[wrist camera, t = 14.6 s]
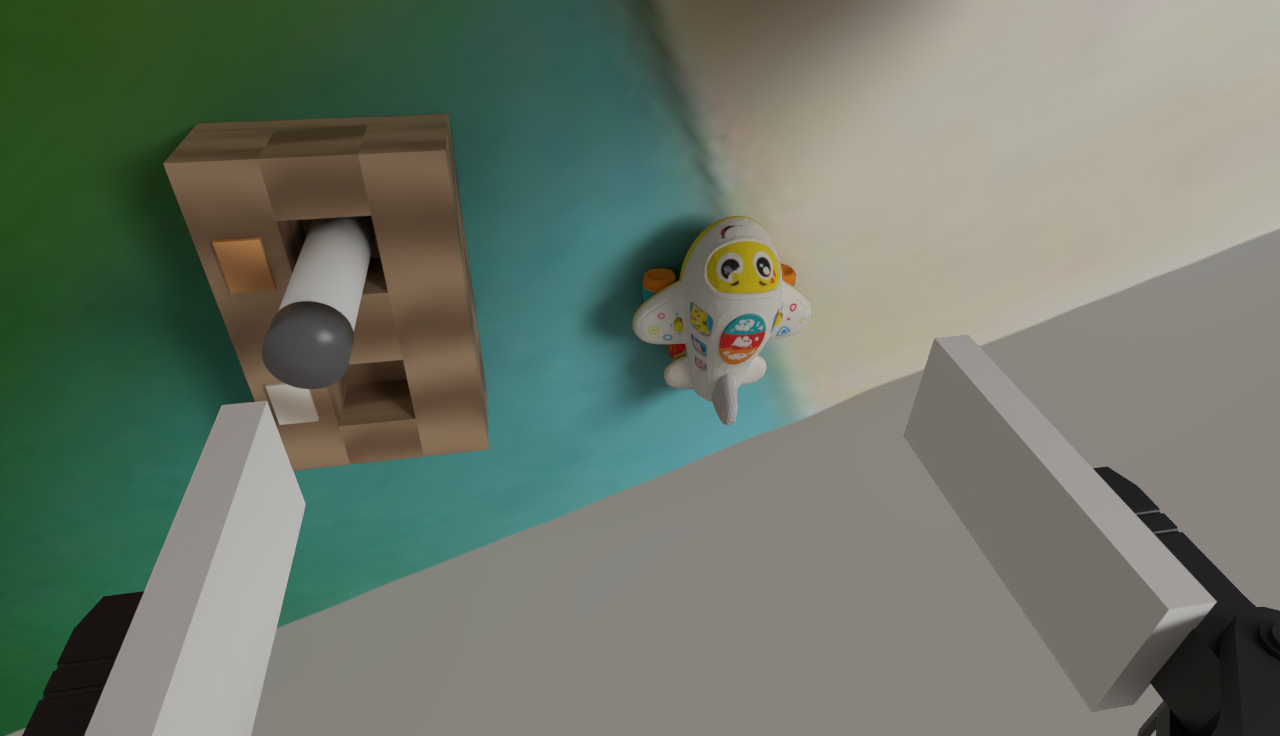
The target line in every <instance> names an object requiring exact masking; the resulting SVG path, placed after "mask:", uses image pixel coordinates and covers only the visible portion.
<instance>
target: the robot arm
mask: <svg viewBox="0 0 1280 736" xmlns="http://www.w3.org/2000/svg"><path fill="white" fill-rule="evenodd" d="M904 437H905V439H906V440H907V442H908V443H909V445H910V446H911V447H912V449H913V451H914V452H915V453H916V455H917V456H918V458H919V459H920V461H921V462H922V464H923V465H924V467H925V468H926V470H927V471H928V473H929V474H930V475H931V477H932V478H933V480H934V481H935V483H936V484H937V486H938V487H939V489H940V490H941V492H942V493H943V495H944V496H945V497H946V499H947V500H948V502H949V503H950V505H951V506H952V508H953V509H954V510H955V512H956V514H957V515H958V517H959V518H960V519H961V521H962V522H963V524H964V525H965V527H966V528H967V530H968V531H969V533H970V534H971V536H972V537H973V538H974V540H975V541H976V543H977V544H978V546H979V547H980V549H981V550H982V552H983V553H984V555H985V556H986V558H987V559H988V560H989V562H990V564H991V565H992V566H993V568H994V569H995V571H996V572H997V574H998V575H999V577H1000V578H1001V580H1002V581H1003V583H1004V584H1005V585H1006V587H1007V588H1008V590H1009V591H1010V593H1011V594H1012V596H1013V597H1014V599H1015V600H1016V602H1017V603H1018V605H1019V606H1020V608H1021V609H1022V610H1023V612H1024V613H1025V615H1026V616H1027V618H1028V619H1029V621H1030V622H1031V624H1032V625H1033V627H1034V628H1035V630H1036V631H1037V632H1038V634H1039V635H1040V637H1041V638H1042V640H1043V641H1044V643H1045V644H1046V646H1047V647H1048V649H1049V650H1050V651H1051V653H1052V654H1053V656H1054V657H1055V659H1056V660H1057V662H1058V663H1059V665H1060V666H1061V668H1062V669H1063V671H1064V672H1065V674H1066V675H1067V677H1068V678H1069V679H1070V681H1071V682H1072V684H1073V685H1074V687H1075V688H1076V690H1077V691H1078V693H1079V694H1080V696H1081V697H1082V699H1083V700H1084V701H1085V703H1086V704H1087V706H1088V707H1089V709H1090V710H1091V712H1095V711H1100V710H1106V709H1111V708H1117V707H1123V706H1128V705H1133V704H1134V703H1135V702H1136V701H1137V700H1138V699H1139V697H1140V696H1141V695H1142V693H1143V692H1144V691H1145V690H1146V689H1147V687H1148V686H1149V685H1150V684H1152V685H1153V687H1154V688H1155V690H1156V691H1157V692H1158V694H1159V695H1160V696H1161V697H1162V699H1163V700H1164V701H1163V702H1162V703H1161V704H1160V706H1159V707H1158V708H1157V709H1156V710H1155V711H1154V713H1153V714H1152V715H1151V716H1150V718H1148V720H1147V721H1146V722H1145V723H1144V724H1143V726H1142V727H1141V728H1140V729H1139V732H1138V735H1137V736H1150V735H1151V734H1152V733H1153V732H1154V731H1155V730H1156V736H1280V611H1278V610H1274V609H1270V608H1266V607H1256V606H1255V605H1254V604H1252V603H1251V602H1250V601H1249V600H1248V599H1247V598H1246V597H1245V596H1244V595H1243V594H1242V593H1241V592H1240V591H1239V590H1238V589H1237V588H1236V587H1235V586H1234V585H1233V584H1232V583H1231V582H1230V581H1229V580H1228V579H1227V578H1226V576H1225V575H1224V574H1223V573H1222V572H1221V571H1220V570H1219V569H1218V568H1217V567H1216V566H1215V565H1214V564H1213V563H1212V562H1211V561H1210V560H1209V559H1208V558H1207V557H1206V556H1205V555H1204V554H1203V553H1202V552H1201V551H1200V550H1199V549H1198V548H1197V547H1196V546H1195V545H1194V544H1193V543H1192V542H1191V541H1190V540H1189V538H1188V537H1187V536H1186V535H1185V534H1184V533H1182V532H1178V530H1177V526H1176V525H1175V524H1174V523H1173V522H1172V521H1171V520H1170V519H1169V518H1168V517H1167V516H1166V515H1165V514H1164V513H1162V514H1161V513H1160V512H1159V508H1158V507H1157V506H1156V505H1155V504H1154V503H1153V502H1152V501H1151V499H1150V498H1148V496H1147V495H1146V494H1145V493H1144V492H1143V491H1142V490H1141V489H1140V488H1139V487H1138V486H1136V485H1135V484H1133V483H1132V482H1131V481H1129V480H1127V479H1126V478H1124V477H1123V476H1121V475H1119V474H1118V473H1116V472H1115V471H1113V470H1112V469H1110V468H1109V467H1101V468H1092V467H1091V466H1090V465H1089V464H1088V463H1087V462H1086V461H1085V460H1084V459H1083V458H1082V456H1081V455H1080V454H1079V453H1078V452H1077V451H1076V450H1075V449H1074V448H1073V447H1072V446H1071V445H1070V444H1069V443H1068V442H1067V440H1066V439H1065V438H1064V437H1063V436H1062V435H1061V434H1060V433H1059V432H1058V431H1057V430H1056V429H1055V428H1054V426H1053V425H1052V424H1051V423H1050V422H1049V421H1048V420H1047V419H1046V418H1045V417H1044V416H1043V415H1042V414H1041V412H1039V410H1038V409H1037V408H1036V407H1035V406H1034V405H1033V404H1032V403H1031V402H1030V401H1029V400H1028V399H1027V397H1025V395H1024V394H1023V393H1022V392H1021V391H1020V390H1019V389H1018V388H1017V387H1016V386H1015V385H1014V384H1013V383H1012V382H1011V381H1010V379H1009V378H1008V377H1007V376H1006V375H1005V374H1004V373H1003V372H1002V371H1001V370H1000V369H999V368H998V366H997V365H996V364H995V363H994V362H993V361H992V360H991V359H990V358H989V357H988V356H987V355H986V353H984V351H983V350H982V349H981V348H980V347H979V346H978V345H977V344H976V343H975V342H974V341H973V340H972V338H971V337H970V336H969V335H962V336H951V337H940V338H934V341H933V344H932V348H931V351H930V354H929V357H928V360H927V363H926V367H925V370H924V373H923V376H922V379H921V383H920V386H919V389H918V392H917V395H916V398H915V401H914V405H913V408H912V411H911V414H910V417H909V420H908V424H907V427H906V430H905V433H904ZM305 506H306V504H305V502H304V499H303V496H302V493H301V491H300V488H299V485H298V483H297V480H296V477H295V475H294V472H293V469H292V467H291V464H290V461H289V459H288V456H287V453H286V451H285V448H284V445H283V443H282V440H281V437H280V434H279V432H278V429H277V426H276V424H275V421H274V418H273V416H272V413H271V410H270V408H269V405H268V402H267V401H259V402H249V403H238V404H227V405H222V406H221V408H220V410H219V413H218V415H217V418H216V420H215V423H214V425H213V427H212V430H211V432H210V435H209V437H208V439H207V442H206V444H205V447H204V449H203V451H202V454H201V456H200V459H199V461H198V463H197V466H196V468H195V471H194V473H193V475H192V478H191V480H190V483H189V485H188V487H187V490H186V492H185V495H184V497H183V499H182V502H181V504H180V507H179V509H178V512H177V514H176V516H175V519H174V521H173V524H172V526H171V528H170V531H169V533H168V536H167V538H166V540H165V543H164V545H163V548H162V550H161V552H160V555H159V557H158V560H157V562H156V564H155V567H154V569H153V572H152V574H151V576H150V579H149V581H148V584H147V586H146V588H145V591H143V592H135V593H128V594H120V595H112V596H104V597H103V598H102V599H101V600H100V601H99V602H98V603H97V604H96V605H95V607H94V608H93V609H92V610H91V611H90V612H89V613H88V614H87V615H86V616H85V617H84V618H83V620H82V621H81V622H80V623H79V624H78V625H77V626H76V627H75V628H74V630H73V632H72V634H71V636H70V638H69V640H68V642H67V644H66V646H65V648H64V650H63V652H62V654H61V656H60V659H59V661H58V663H57V665H58V668H57V670H56V671H53V673H52V675H51V677H50V679H49V681H48V683H47V686H46V688H45V690H44V692H43V694H44V697H43V699H42V700H39V702H38V704H37V706H36V708H35V710H34V712H33V715H32V717H31V719H30V721H29V723H28V725H27V727H26V729H25V731H24V734H23V735H22V736H251V733H252V729H253V724H254V721H255V716H256V712H257V708H258V703H259V699H260V695H261V691H262V687H263V683H264V678H265V674H266V670H267V666H268V662H269V657H270V653H271V649H272V645H273V640H274V636H275V632H276V628H277V624H278V619H279V615H280V611H281V607H282V602H283V598H284V594H285V590H286V586H287V581H288V577H289V573H290V569H291V565H292V560H293V556H294V552H295V548H296V543H297V539H298V535H299V531H300V527H301V522H302V518H303V514H304V510H305Z"/></svg>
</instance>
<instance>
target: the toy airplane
mask: <svg viewBox="0 0 1280 736" xmlns="http://www.w3.org/2000/svg"><path fill="white" fill-rule="evenodd" d="M795 277H796V273H795V271H794V270H793V269H792V268H791V267H789V266H787V265H784V264H780V261H779V258H778V255H777V252H776V249H775V247H774V245H773V242H772V240H771V238H770V236H769V235H768V233H767V232H766V230H765V229H764V228H763V227H762V226H761V225H760V224H759V223H757V222H756V221H754V220H752V219H751V218H747V217H742V216H734V217H727V218H724V219H721V220H719V221H717V222H715V223H713V224H711V225H709V226H708V227H707V228H706V229H705V230H703V231H702V232H701V233H700V234H699V236H698V237H697V238H696V239H695V241H694V242H693V244H692V245H691V247H690V248H689V250H688V252H687V254H686V257H685V259H684V262H683V265H682V269H681V273H680V278H679V280H678V281H677V282H676V277H675V274H674V272H673V271H672V270H670V269H664V268H657V269H651V270H648V271H647V272H646V273H645V274H644V277H643V283H642V294H643V304H642V305H641V306H640V307H639V308H638V310H637V311H636V313H635V315H634V317H633V323H632V326H633V330H634V332H635V334H636V336H638V337H639V338H640V339H641V340H642V341H645V342H647V343H651V344H667V345H668V351H669V353H670V356H671V357H672V358H674V359H676V360H674V361H673V362H671V363H670V364H669V365H668V366H667V367H666V368H665V370H664V379H665V381H666V383H667V384H668V385H670V386H671V387H674V388H681V389H694V390H695V392H696V393H697V394H698V395H699V396H701V397H702V398H704V399H706V400H708V401H712V402H713V405H714V407H715V410H716V412H717V414H718V416H719V418H720V420H721V422H722V423H723V424H725V425H731V424H733V423H734V422H735V420H736V416H737V411H738V398H737V389H738V388H739V386H740V385H747V384H750V383H754V382H756V381H757V380H759V379H760V378H761V377H762V376H763V375H764V373H765V371H766V362H765V360H764V359H763V358H762V357H761V356H759V355H758V353H759V352H760V351H761V349H762V348H763V347H764V345H765V344H766V342H767V341H768V340H769V339H773V338H781V337H788V336H790V335H793V334H796V333H798V332H799V331H801V330H802V329H803V328H804V327H805V326H806V325H807V324H808V322H809V320H810V317H811V306H810V304H809V302H808V300H807V299H806V297H805V296H804V295H803V294H802V293H801V292H800V291H798V290H797V289H796V288H795V287H794V284H795Z"/></svg>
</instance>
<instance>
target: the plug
mask: <svg viewBox="0 0 1280 736" xmlns="http://www.w3.org/2000/svg"><path fill="white" fill-rule="evenodd" d="M374 239H375V230H374V225H373V221H372V216H355V217H338V218H321V219H313V221H312V223H311V226H310V228H309V231H308V234H307V236H306V239H305V242H304V244H303V247H302V250H301V252H300V255H299V258H298V260H297V263H296V265H295V268H294V271H293V273H292V276H291V279H290V281H289V284H288V287H287V289H286V292H285V295H284V297H283V300H282V302H281V305H280V308H279V310H278V312H277V313H276V315H275V316H274V318H273V320H272V322H271V325H270V328H269V330H268V333H267V335H266V338H265V341H264V343H263V346H262V359H263V362H264V365H265V366H266V368H267V369H268V371H269V372H270V373H271V374H272V375H273V376H274V377H275V378H277V379H278V380H280V381H281V382H283V383H285V384H287V385H290V386H293V387H297V388H301V389H320V388H325V387H328V386H330V385H333V384H334V383H336V382H338V381H339V380H340V379H341V378H342V377H343V376H344V375H345V373H346V371H347V369H348V365H349V361H350V356H351V351H352V347H353V342H354V328H355V324H356V319H357V315H358V310H359V306H360V301H361V297H362V293H363V288H364V284H365V279H366V275H367V270H368V266H369V261H370V257H371V253H372V248H373V244H374Z"/></svg>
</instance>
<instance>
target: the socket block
mask: <svg viewBox="0 0 1280 736" xmlns="http://www.w3.org/2000/svg"><path fill="white" fill-rule="evenodd" d="M163 165H164V167H165V170H166V172H167V175H168V178H169V180H170V183H171V185H172V188H173V191H174V193H175V196H176V198H177V201H178V204H179V206H180V209H181V211H182V214H183V216H184V219H185V222H186V224H187V227H188V229H189V232H190V235H191V237H192V240H193V242H194V245H195V248H196V250H197V253H198V255H199V258H200V261H201V263H202V266H203V268H204V271H205V273H206V276H207V279H208V281H209V284H210V286H211V289H212V292H213V294H214V297H215V299H216V302H217V305H218V307H219V310H220V312H221V315H222V318H223V320H224V323H225V325H226V328H227V331H228V333H229V336H230V338H231V341H232V343H233V346H234V349H235V351H236V354H237V356H238V359H239V362H240V364H241V367H242V369H243V372H244V375H245V377H246V380H247V382H248V385H249V388H250V390H251V393H252V395H253V398H254V400H255V402H259V401H267V402H268V405H269V408H270V410H271V413H272V416H273V418H274V421H275V424H276V426H277V429H278V432H279V434H280V437H281V440H282V443H283V445H284V448H285V451H286V453H287V456H288V459H289V461H290V464H291V467H292V469H293V470H302V469H311V468H320V467H330V466H339V465H348V464H357V463H367V462H376V461H385V460H394V459H404V458H413V457H422V456H431V455H441V454H450V453H459V452H468V451H478V450H487V449H489V447H488V408H487V392H486V384H485V377H484V370H483V363H482V355H481V348H480V341H479V334H478V326H477V319H476V312H475V304H474V297H473V290H472V283H471V275H470V268H469V261H468V254H467V246H466V239H465V232H464V225H463V217H462V210H461V203H460V196H459V188H458V181H457V174H456V167H455V159H454V152H453V145H452V138H451V130H450V123H449V116H448V114H425V115H399V116H374V117H349V118H323V119H298V120H273V121H247V122H222V123H197V125H196V126H195V127H194V128H193V129H192V130H191V132H190V133H189V134H188V135H187V136H186V137H185V139H184V140H183V141H182V142H181V143H180V144H179V146H178V147H177V148H176V149H175V150H174V151H173V153H172V154H171V155H170V156H169V157H168V158H167V160H166V161H165V162H164V163H163ZM355 216H372V221H373V225H374V230H375V239H374V244H373V248H372V253H371V257H370V261H369V266H368V270H367V275H366V279H365V284H364V288H363V293H362V297H361V301H360V306H359V310H358V315H357V319H356V324H355V328H354V342H353V347H352V351H351V356H350V361H349V365H348V369H347V371H346V373H345V375H344V376H343V377H342V378H341V379H340V380H339V381H338V382H336V383H334V384H333V385H330V386H328V387H325V388H320V389H301V388H297V387H293V386H290V385H287V384H285V383H283V382H281V381H280V380H278V379H277V378H275V377H274V376H273V375H272V374H271V373H270V372H269V371H268V369H267V368H266V366H265V365H264V362H263V359H262V346H263V343H264V341H265V338H266V335H267V333H268V330H269V328H270V325H271V322H272V320H273V318H274V316H275V315H276V313H277V312H278V310H279V308H280V305H281V302H282V300H283V297H284V295H285V292H286V289H287V287H288V284H289V281H290V279H291V276H292V273H293V271H294V268H295V265H296V263H297V260H298V258H299V255H300V252H301V250H302V247H303V244H304V242H305V239H306V236H307V234H308V231H309V228H310V226H311V223H312V221H313V219H321V218H338V217H355Z"/></svg>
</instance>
